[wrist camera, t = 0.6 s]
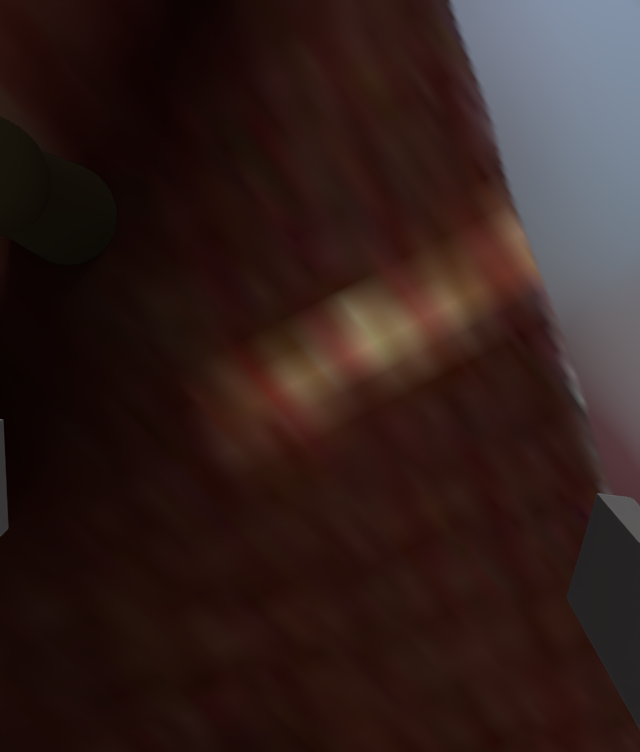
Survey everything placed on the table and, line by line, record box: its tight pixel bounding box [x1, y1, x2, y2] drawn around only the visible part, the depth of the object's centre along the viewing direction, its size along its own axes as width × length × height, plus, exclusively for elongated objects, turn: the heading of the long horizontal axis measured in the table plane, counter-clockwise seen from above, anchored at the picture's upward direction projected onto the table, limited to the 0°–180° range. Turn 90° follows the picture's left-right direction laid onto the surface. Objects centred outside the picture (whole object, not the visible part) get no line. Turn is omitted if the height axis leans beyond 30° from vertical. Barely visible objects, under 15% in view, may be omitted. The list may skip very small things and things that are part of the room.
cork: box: [0, 117, 117, 266], centre depth 30 cm, size 6×6×11 cm
